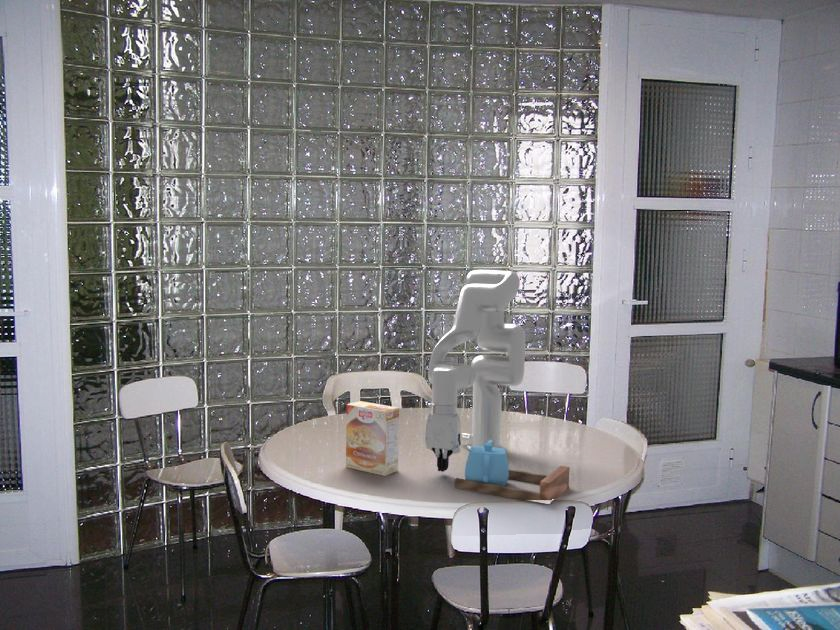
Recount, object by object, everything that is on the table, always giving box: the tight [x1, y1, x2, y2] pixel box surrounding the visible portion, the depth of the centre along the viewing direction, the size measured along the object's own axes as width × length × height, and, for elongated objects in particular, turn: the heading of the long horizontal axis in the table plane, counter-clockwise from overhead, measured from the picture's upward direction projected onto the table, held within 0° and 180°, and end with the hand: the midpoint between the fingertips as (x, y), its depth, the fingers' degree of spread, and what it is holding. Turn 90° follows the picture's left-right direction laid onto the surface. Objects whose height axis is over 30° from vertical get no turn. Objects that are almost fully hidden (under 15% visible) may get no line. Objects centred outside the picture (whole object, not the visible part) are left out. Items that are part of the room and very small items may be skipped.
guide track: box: [454, 465, 570, 501], centre depth 223 cm, size 28×17×6 cm, turn 62°
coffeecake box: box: [345, 400, 400, 477], centre depth 237 cm, size 15×7×20 cm, turn 56°
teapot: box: [464, 440, 510, 487], centre depth 226 cm, size 12×18×12 cm
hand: (442, 470), depth 233 cm, fingers closed
